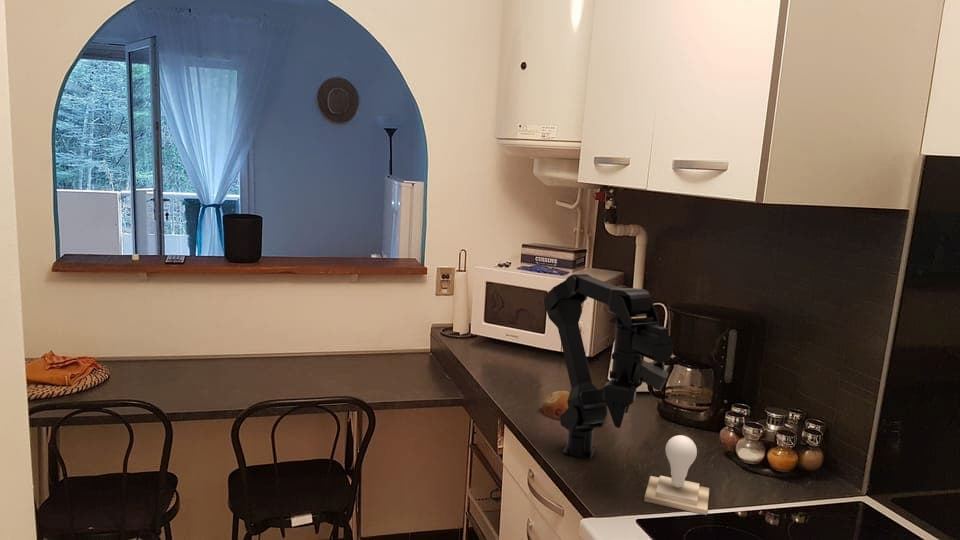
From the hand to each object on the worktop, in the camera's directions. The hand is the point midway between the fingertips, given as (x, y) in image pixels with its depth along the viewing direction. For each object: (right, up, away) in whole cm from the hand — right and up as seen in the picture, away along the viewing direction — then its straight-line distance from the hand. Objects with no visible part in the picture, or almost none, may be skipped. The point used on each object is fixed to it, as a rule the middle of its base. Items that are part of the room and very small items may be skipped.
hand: (621, 419), depth 143 cm
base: (+10, -15, -5) cm, 19 cm away
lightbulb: (+10, -13, -5) cm, 17 cm away
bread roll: (-8, -7, +37) cm, 39 cm away
